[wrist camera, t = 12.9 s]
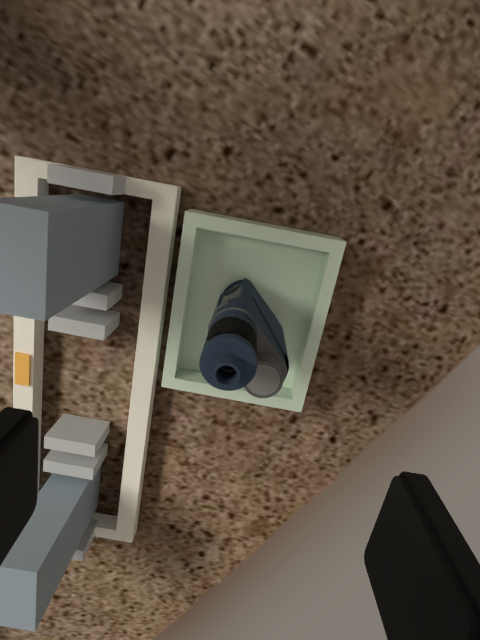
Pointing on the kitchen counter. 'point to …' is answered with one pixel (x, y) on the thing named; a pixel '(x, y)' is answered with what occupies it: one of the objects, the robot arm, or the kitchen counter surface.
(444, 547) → the robot arm
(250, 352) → the vaping device
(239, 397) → the tray
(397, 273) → the kitchen counter surface
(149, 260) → the rail
